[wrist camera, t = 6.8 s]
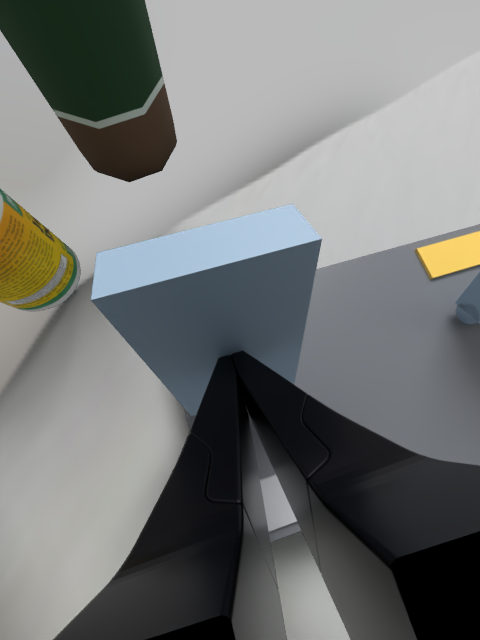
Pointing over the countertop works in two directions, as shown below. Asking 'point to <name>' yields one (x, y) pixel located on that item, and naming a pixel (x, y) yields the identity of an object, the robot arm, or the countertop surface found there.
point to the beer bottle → (97, 78)
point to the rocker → (212, 296)
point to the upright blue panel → (470, 303)
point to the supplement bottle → (33, 261)
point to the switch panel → (391, 354)
